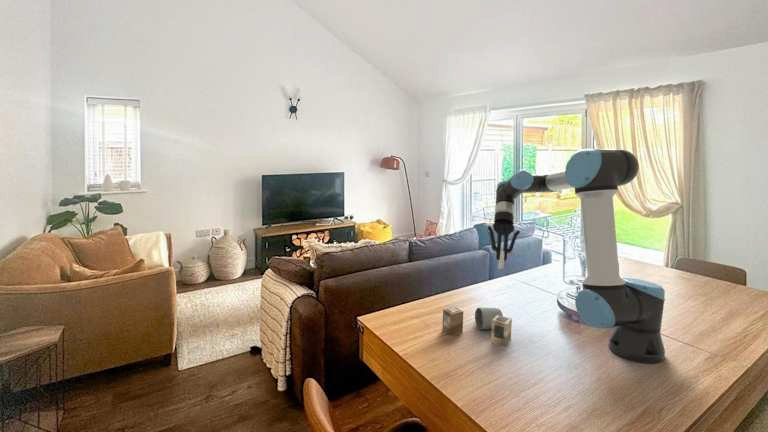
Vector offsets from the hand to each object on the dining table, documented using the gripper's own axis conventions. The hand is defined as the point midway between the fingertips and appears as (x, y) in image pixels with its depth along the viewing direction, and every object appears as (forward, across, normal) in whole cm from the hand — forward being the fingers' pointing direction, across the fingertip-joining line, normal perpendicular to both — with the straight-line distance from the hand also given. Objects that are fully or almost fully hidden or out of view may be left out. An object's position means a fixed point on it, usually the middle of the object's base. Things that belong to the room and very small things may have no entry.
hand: (500, 267), depth 153 cm
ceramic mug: (+23, +3, -3) cm, 23 cm away
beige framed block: (+30, 0, +7) cm, 30 cm away
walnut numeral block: (+28, +16, +2) cm, 32 cm away
